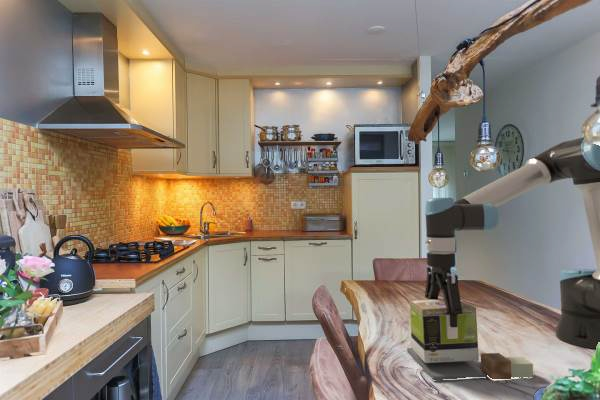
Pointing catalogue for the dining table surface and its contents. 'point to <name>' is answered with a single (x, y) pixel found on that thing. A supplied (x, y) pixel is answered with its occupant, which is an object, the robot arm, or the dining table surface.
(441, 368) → the block
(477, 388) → the dining table surface
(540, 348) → the dining table surface
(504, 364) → the walnut cube
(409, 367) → the dining table surface
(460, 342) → the tea box
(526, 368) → the sage painted block
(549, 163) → the robot arm
